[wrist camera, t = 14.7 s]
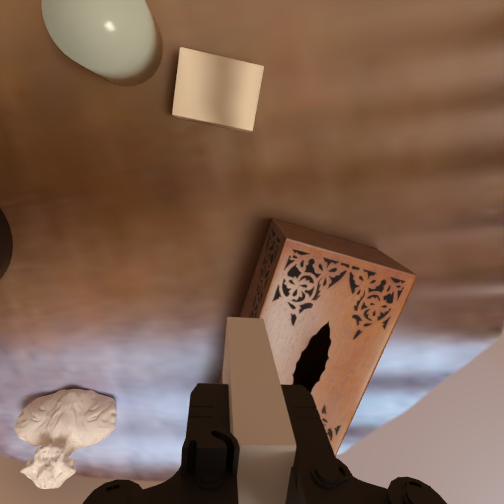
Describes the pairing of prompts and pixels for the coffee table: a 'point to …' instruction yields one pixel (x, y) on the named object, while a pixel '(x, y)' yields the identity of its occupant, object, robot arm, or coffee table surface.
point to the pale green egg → (107, 37)
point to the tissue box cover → (326, 315)
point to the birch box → (216, 90)
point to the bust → (63, 431)
